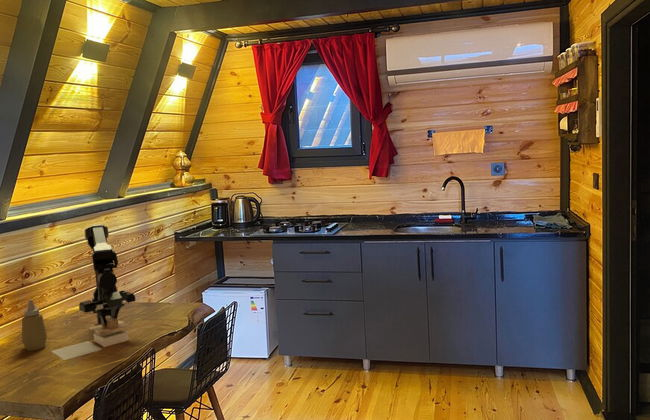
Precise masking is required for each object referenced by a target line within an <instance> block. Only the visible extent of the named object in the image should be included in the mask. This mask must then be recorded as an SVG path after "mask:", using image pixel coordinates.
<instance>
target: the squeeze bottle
mask: <svg viewBox="0 0 650 420" xmlns="http://www.w3.org/2000/svg"><path fill="white" fill-rule="evenodd" d="M23 313H24V316H23V317H22V318H21V342H22V344H23V347H24V348H25V349H26V350H27V351H37V350H41V349H43V348H45V346H46V342H47V339H48V335H47V330H46V326H45V321H44V318H43V315H42V314H41V313H40V308H39V307H38V308H36V306H35V304H34V301H33V299H28V303H27V308H26V309H25V310H24V311H23Z"/></svg>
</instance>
